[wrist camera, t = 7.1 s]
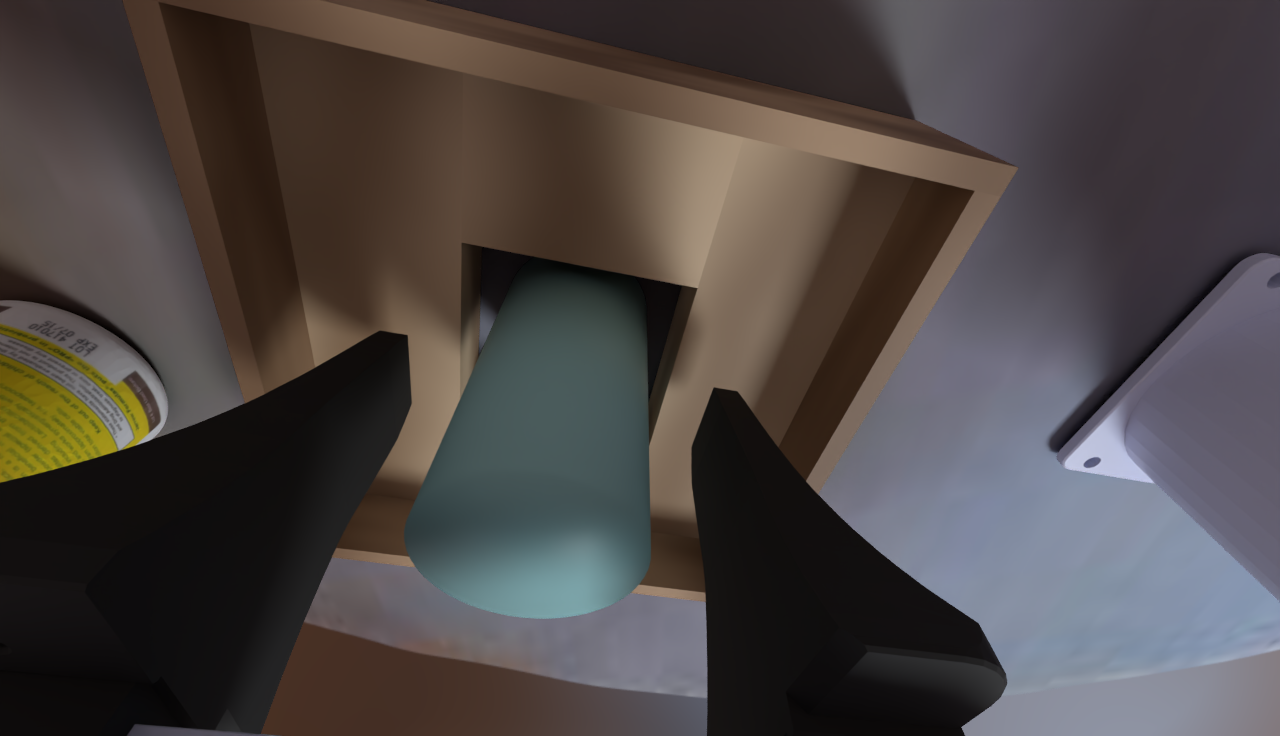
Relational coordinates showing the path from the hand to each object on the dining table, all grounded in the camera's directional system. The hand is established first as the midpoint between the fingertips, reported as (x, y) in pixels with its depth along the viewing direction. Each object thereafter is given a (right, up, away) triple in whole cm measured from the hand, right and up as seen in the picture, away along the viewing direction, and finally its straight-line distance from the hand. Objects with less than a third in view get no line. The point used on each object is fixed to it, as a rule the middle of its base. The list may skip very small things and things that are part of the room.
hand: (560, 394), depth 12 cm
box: (0, +2, +3) cm, 3 cm away
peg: (0, +2, +3) cm, 3 cm away
